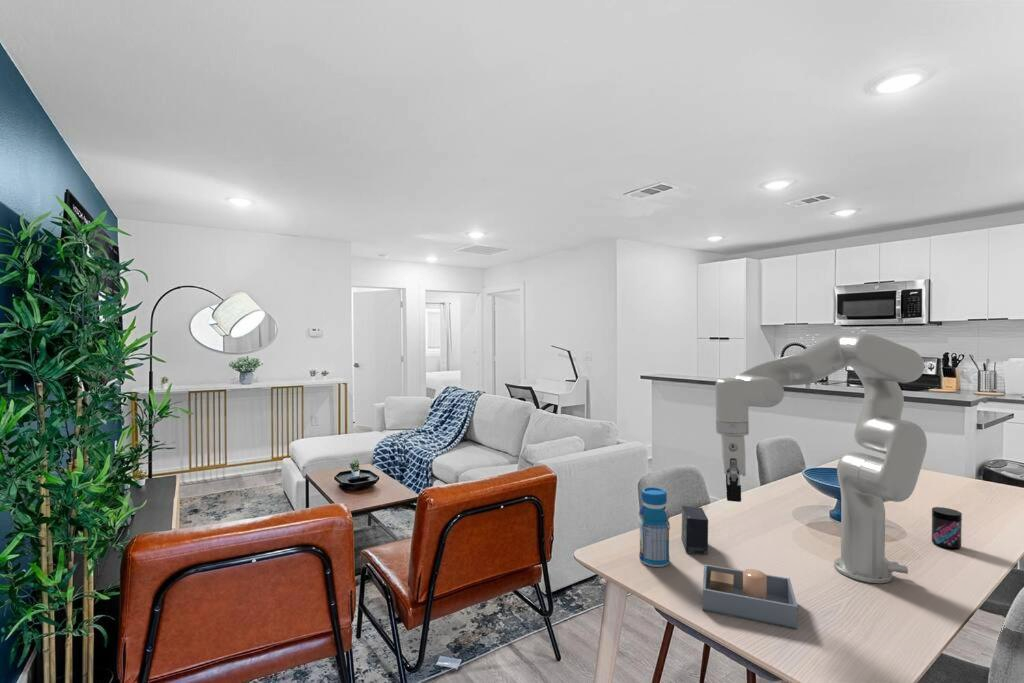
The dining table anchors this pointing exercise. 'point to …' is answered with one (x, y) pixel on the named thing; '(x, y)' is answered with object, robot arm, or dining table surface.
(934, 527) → the supplement container
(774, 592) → the tote
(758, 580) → the tan rounded smooth part
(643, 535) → the beverage bottle
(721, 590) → the walnut cube
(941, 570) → the dining table surface
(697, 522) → the small box
